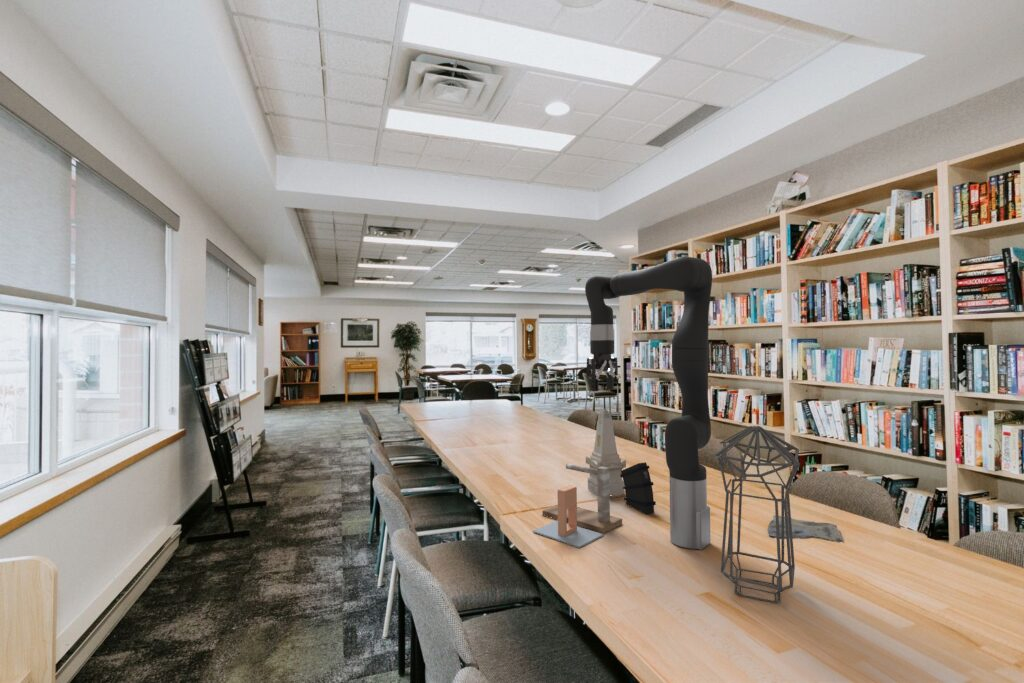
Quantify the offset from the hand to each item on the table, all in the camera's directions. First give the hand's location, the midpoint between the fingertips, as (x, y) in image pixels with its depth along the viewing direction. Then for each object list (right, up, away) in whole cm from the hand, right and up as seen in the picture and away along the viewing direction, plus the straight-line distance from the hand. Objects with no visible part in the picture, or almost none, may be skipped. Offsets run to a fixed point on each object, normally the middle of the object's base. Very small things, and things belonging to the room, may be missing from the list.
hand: (602, 390), depth 154 cm
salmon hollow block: (-13, -37, -19) cm, 44 cm away
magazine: (+12, -38, +3) cm, 40 cm away
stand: (-8, -38, -8) cm, 40 cm away
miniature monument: (+5, -39, +20) cm, 44 cm away
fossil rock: (+52, -38, -19) cm, 67 cm away
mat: (-13, -38, -19) cm, 45 cm away
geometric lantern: (+23, -37, -52) cm, 68 cm away
